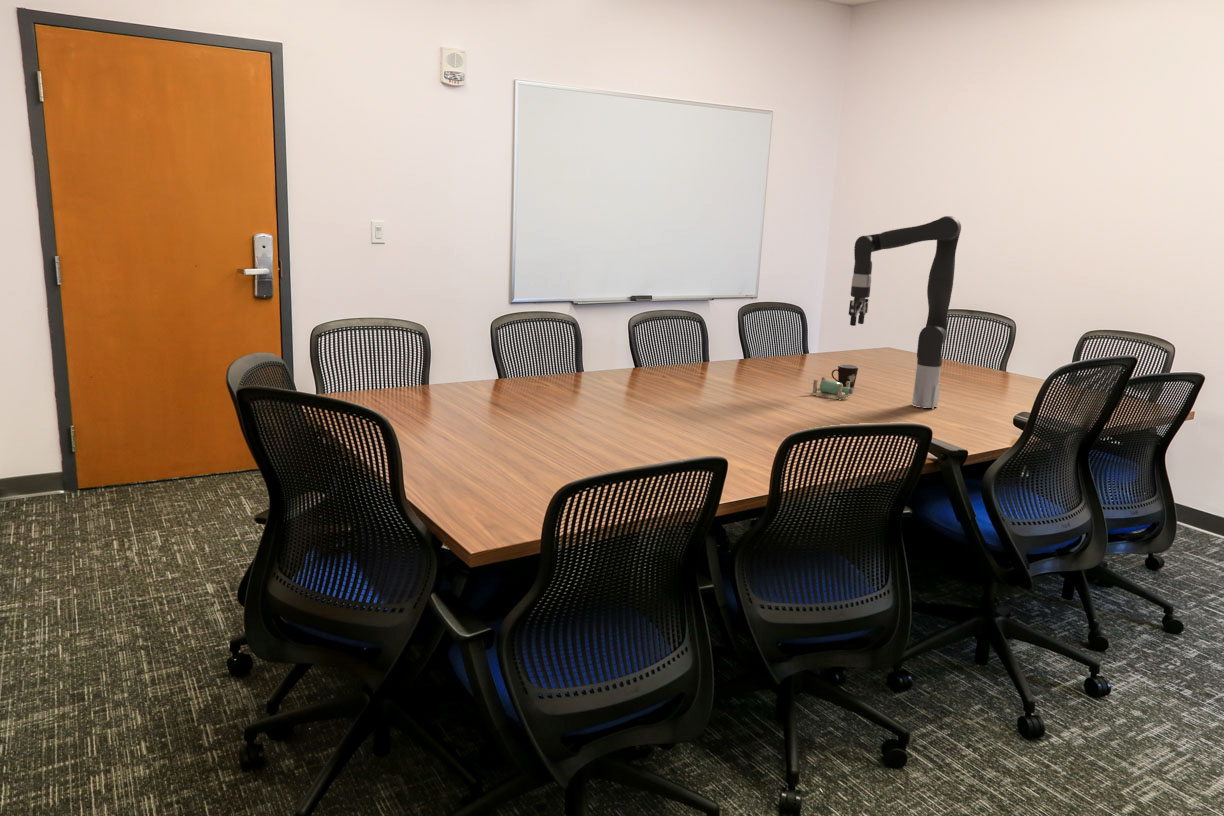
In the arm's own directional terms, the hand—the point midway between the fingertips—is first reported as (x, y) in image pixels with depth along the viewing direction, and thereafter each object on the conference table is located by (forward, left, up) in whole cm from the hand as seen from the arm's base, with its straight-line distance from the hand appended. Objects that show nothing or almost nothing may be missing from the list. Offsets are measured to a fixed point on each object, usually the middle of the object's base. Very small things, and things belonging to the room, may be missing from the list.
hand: (856, 324), depth 360 cm
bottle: (+3, +6, -29) cm, 30 cm away
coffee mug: (+8, -12, -30) cm, 34 cm away
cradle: (+6, +7, -30) cm, 31 cm away
